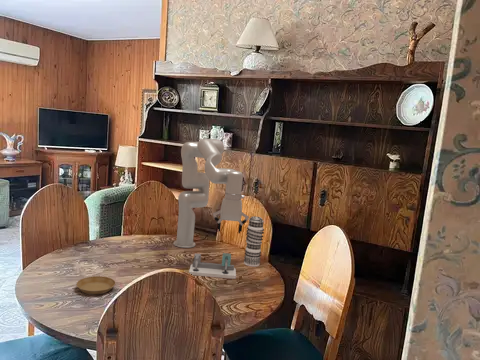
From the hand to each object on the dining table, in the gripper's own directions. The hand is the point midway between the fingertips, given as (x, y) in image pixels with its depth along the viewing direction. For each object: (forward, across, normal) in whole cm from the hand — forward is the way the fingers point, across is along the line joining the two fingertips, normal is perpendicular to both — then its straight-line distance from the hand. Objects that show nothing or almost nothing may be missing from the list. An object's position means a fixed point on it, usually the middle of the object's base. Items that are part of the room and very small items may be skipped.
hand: (229, 231), depth 185 cm
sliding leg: (+18, 0, +2) cm, 18 cm away
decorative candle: (+20, -14, -15) cm, 29 cm away
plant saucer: (+21, +52, +31) cm, 64 cm away
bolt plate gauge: (+20, +6, +3) cm, 21 cm away
